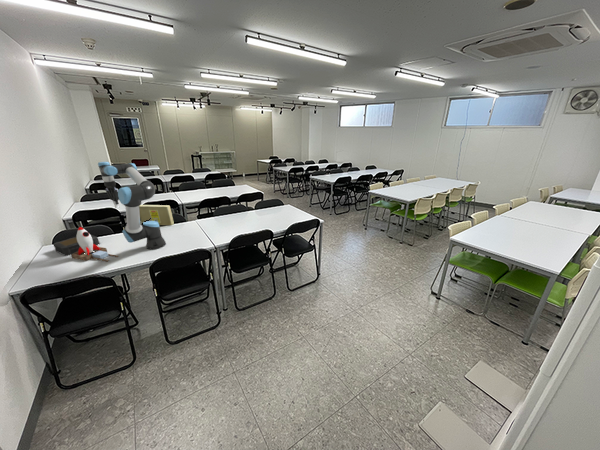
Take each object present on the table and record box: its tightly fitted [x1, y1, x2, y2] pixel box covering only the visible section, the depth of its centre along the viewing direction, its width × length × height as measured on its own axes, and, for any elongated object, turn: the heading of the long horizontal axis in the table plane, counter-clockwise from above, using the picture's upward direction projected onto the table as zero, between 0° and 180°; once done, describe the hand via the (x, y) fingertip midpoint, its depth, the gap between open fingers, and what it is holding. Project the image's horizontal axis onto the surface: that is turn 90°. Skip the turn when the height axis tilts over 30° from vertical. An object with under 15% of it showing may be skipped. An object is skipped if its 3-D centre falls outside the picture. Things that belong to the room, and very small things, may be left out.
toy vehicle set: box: [139, 204, 175, 226], centre depth 257 cm, size 35×5×22 cm, turn 85°
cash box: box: [52, 233, 101, 257], centre depth 208 cm, size 25×20×8 cm
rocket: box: [76, 226, 100, 255], centre depth 192 cm, size 11×11×25 cm
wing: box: [92, 251, 110, 259], centre depth 193 cm, size 9×6×4 cm, turn 73°
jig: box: [70, 246, 119, 263], centre depth 194 cm, size 34×16×4 cm, turn 73°
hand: (117, 207), depth 204 cm, fingers closed
